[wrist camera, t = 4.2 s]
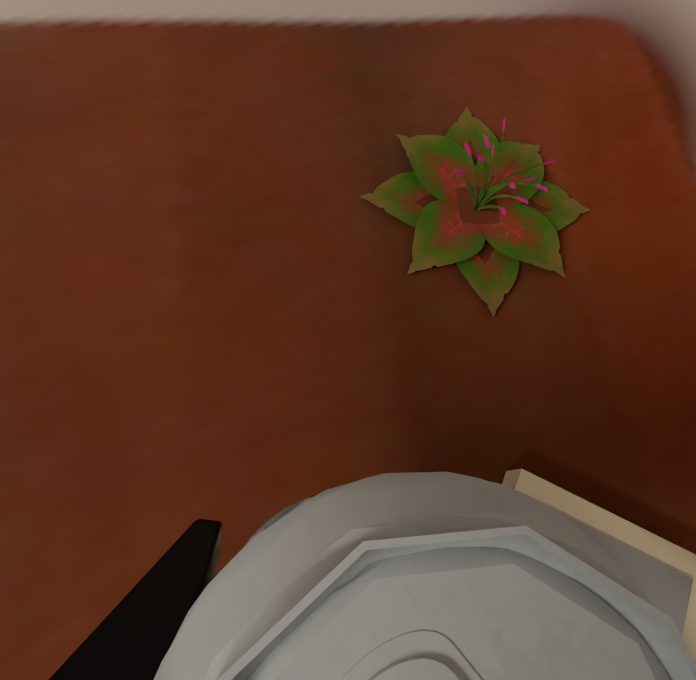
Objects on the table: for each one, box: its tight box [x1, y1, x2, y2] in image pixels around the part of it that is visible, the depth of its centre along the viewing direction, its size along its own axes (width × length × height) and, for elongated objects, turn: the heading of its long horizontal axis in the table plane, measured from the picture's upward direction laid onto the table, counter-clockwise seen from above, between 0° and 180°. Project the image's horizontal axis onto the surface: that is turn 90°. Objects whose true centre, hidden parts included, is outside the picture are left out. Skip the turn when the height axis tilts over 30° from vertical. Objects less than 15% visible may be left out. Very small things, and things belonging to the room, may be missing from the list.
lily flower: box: [360, 106, 590, 317], centre depth 26 cm, size 12×12×5 cm
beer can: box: [154, 472, 696, 680], centre depth 9 cm, size 5×5×12 cm
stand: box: [502, 469, 696, 663], centre depth 21 cm, size 9×9×2 cm
